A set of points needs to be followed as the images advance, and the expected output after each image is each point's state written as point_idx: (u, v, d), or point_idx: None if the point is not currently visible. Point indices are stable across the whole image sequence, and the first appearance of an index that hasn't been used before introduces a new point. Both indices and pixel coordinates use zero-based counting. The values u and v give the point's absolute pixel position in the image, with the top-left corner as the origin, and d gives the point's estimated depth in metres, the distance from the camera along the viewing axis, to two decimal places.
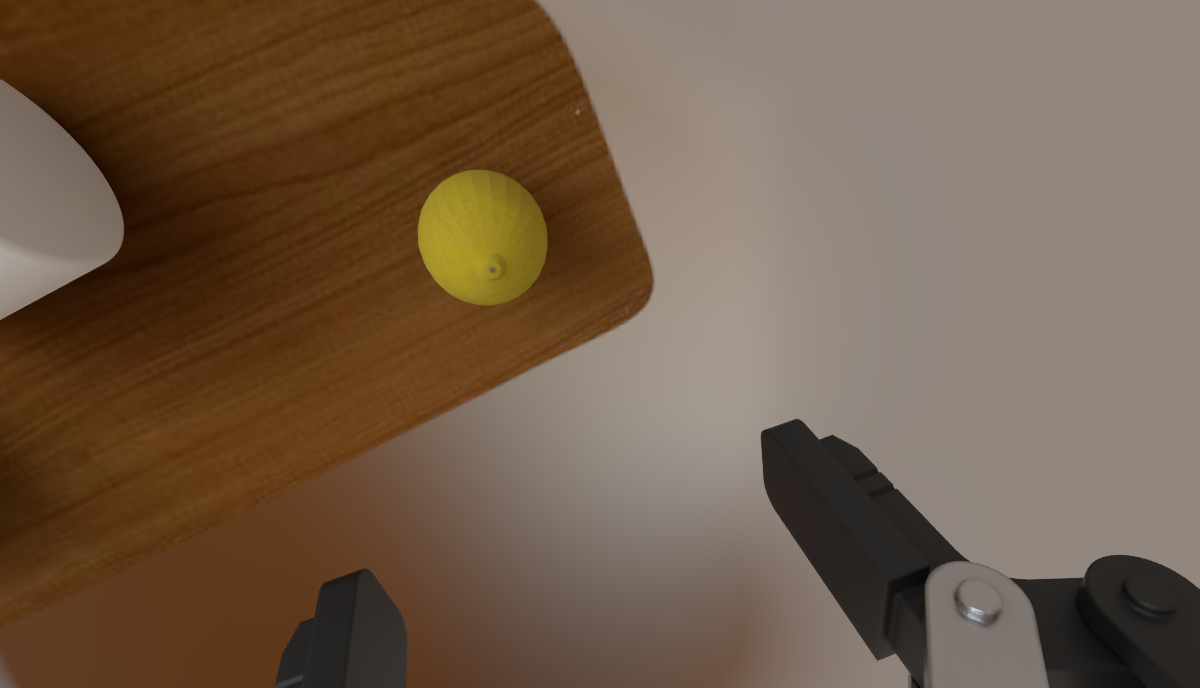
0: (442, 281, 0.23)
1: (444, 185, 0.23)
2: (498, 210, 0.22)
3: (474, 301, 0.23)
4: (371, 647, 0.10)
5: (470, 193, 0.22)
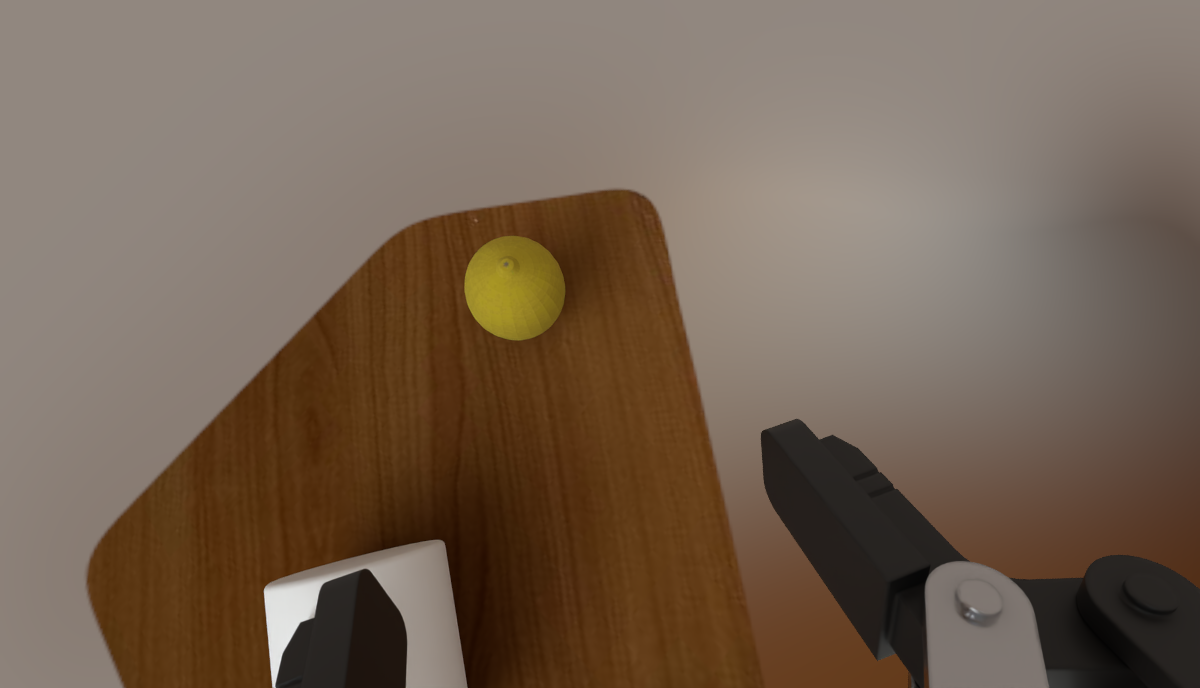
0: (517, 314, 0.29)
1: None
2: (476, 256, 0.29)
3: (540, 295, 0.29)
4: (371, 647, 0.10)
5: (465, 277, 0.30)
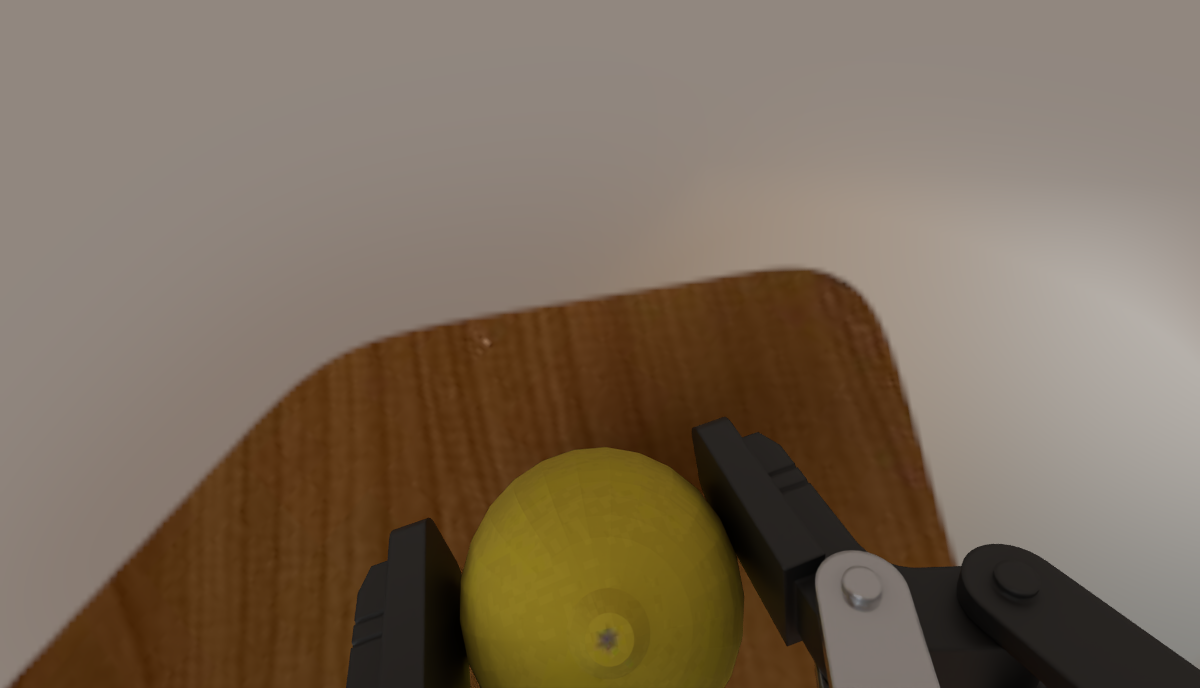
0: None
1: None
2: (497, 556, 0.09)
3: None
4: (440, 587, 0.10)
5: (463, 600, 0.10)
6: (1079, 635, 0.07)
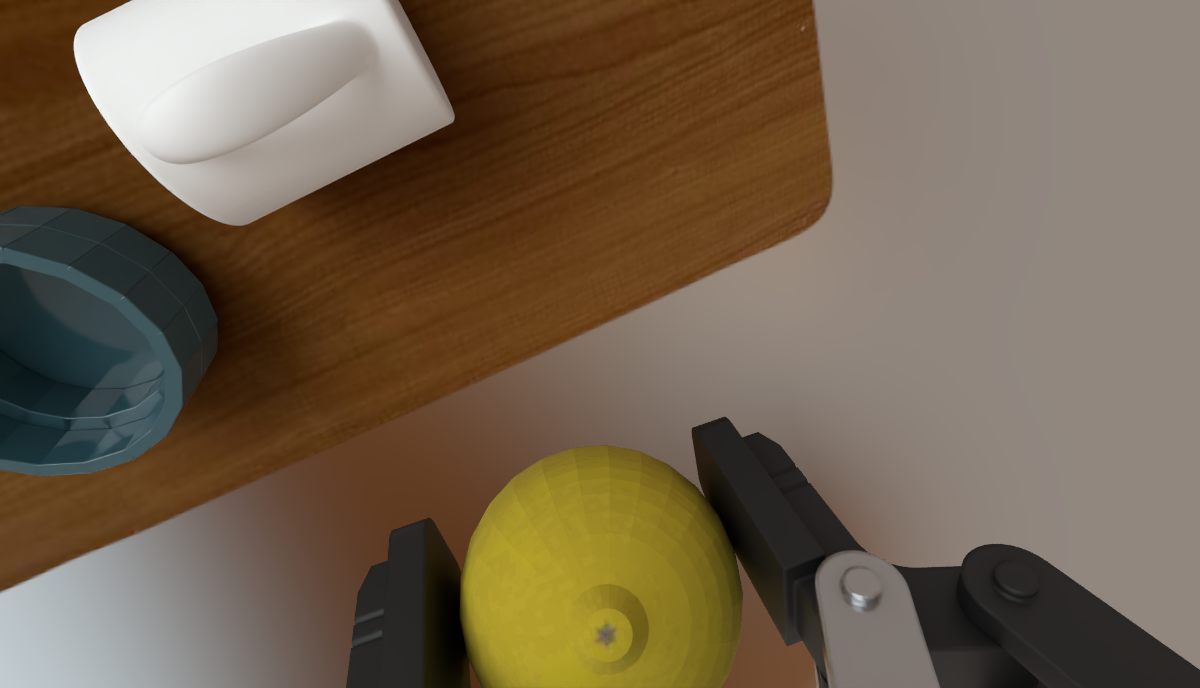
0: None
1: None
2: (496, 553, 0.09)
3: None
4: (440, 587, 0.10)
5: (462, 596, 0.10)
6: (1079, 635, 0.07)
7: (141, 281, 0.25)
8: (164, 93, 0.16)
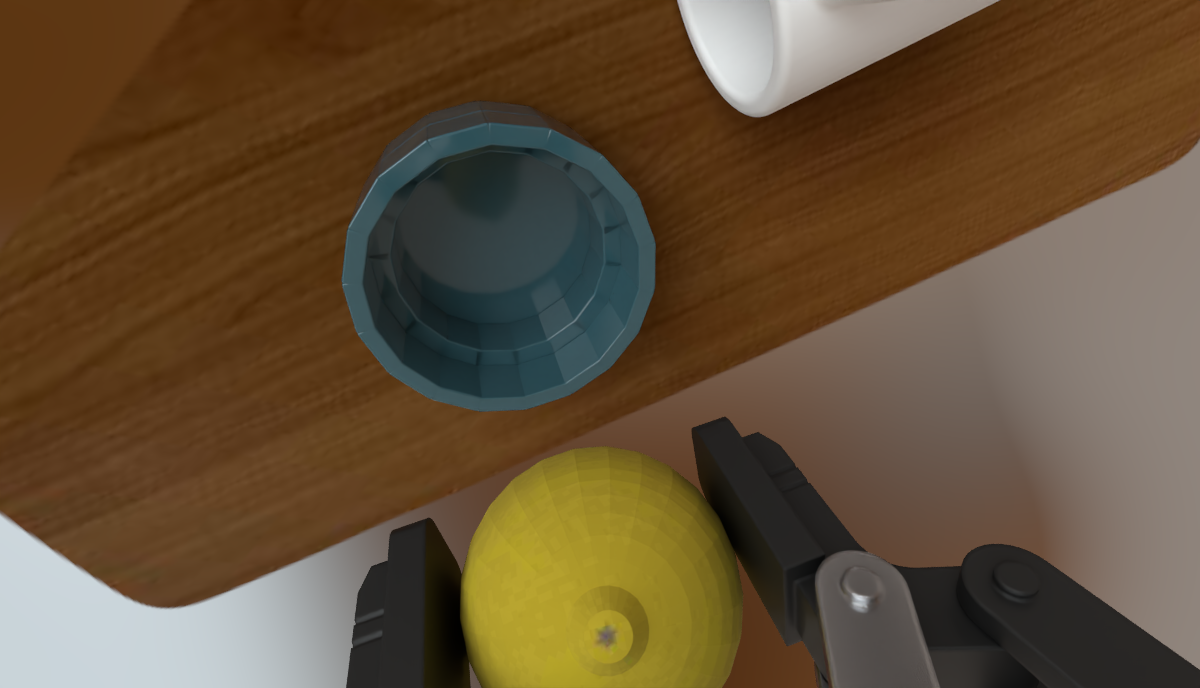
0: None
1: None
2: (497, 554, 0.09)
3: None
4: (440, 587, 0.10)
5: (463, 598, 0.10)
6: (1079, 635, 0.07)
7: None
8: None
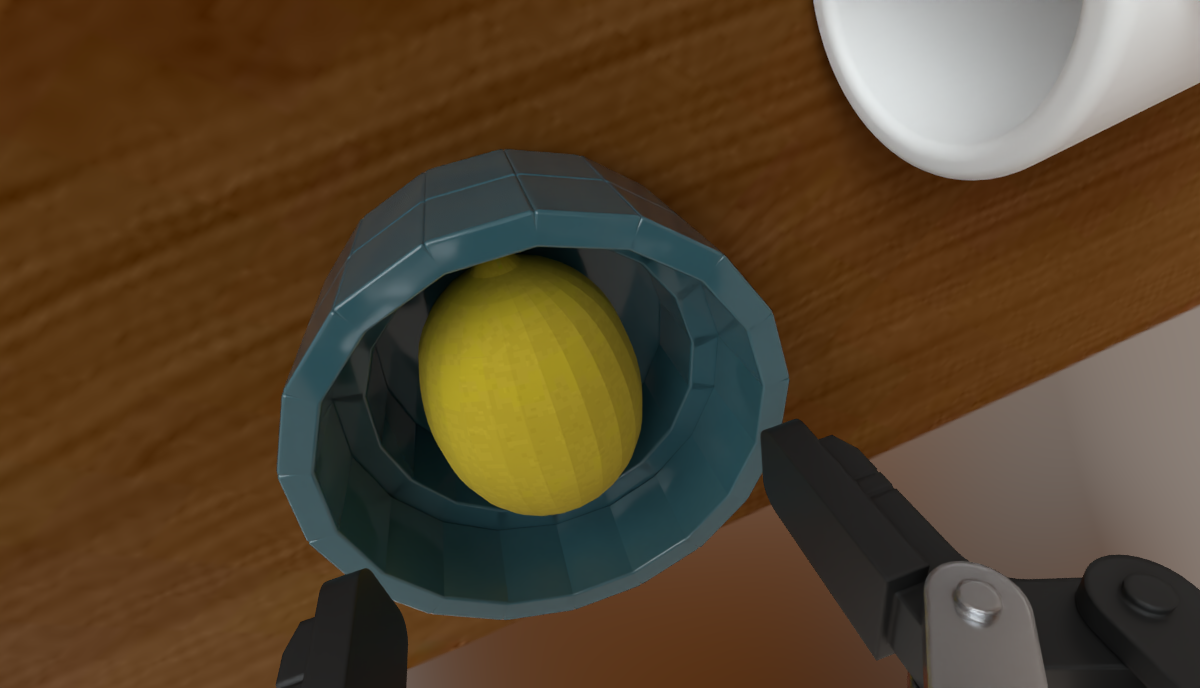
0: (495, 358, 0.12)
1: None
2: None
3: (558, 322, 0.12)
4: (372, 646, 0.10)
5: None
6: None
7: None
8: None
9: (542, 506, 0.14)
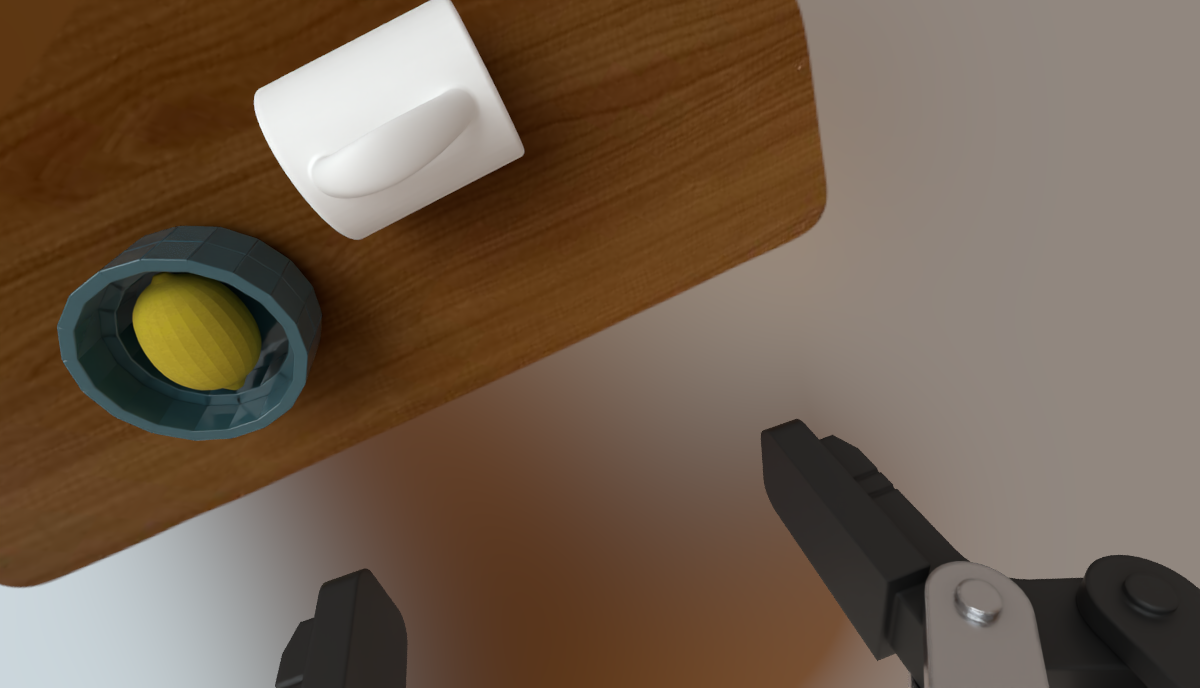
0: (150, 317, 0.30)
1: None
2: None
3: (179, 302, 0.30)
4: (371, 647, 0.10)
5: None
6: None
7: (278, 284, 0.32)
8: (344, 150, 0.23)
9: (192, 382, 0.32)
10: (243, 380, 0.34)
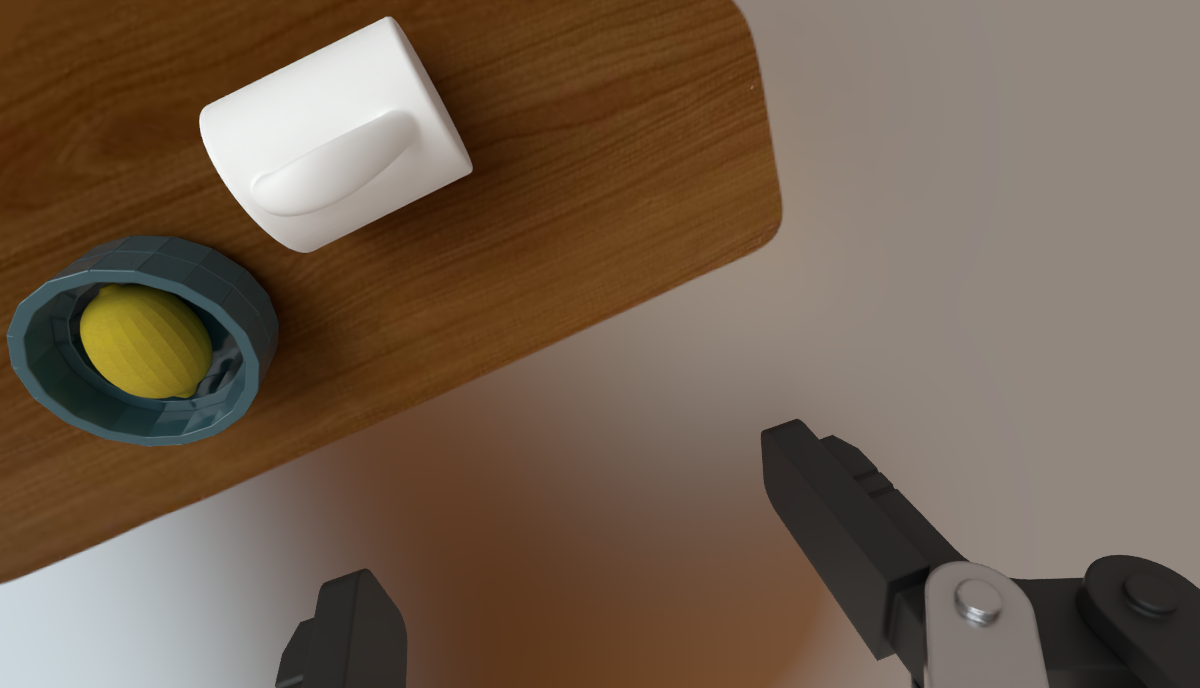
0: (93, 328, 0.30)
1: None
2: None
3: (121, 315, 0.30)
4: (371, 647, 0.10)
5: None
6: None
7: (229, 294, 0.32)
8: (279, 171, 0.23)
9: (137, 391, 0.32)
10: (193, 389, 0.35)
